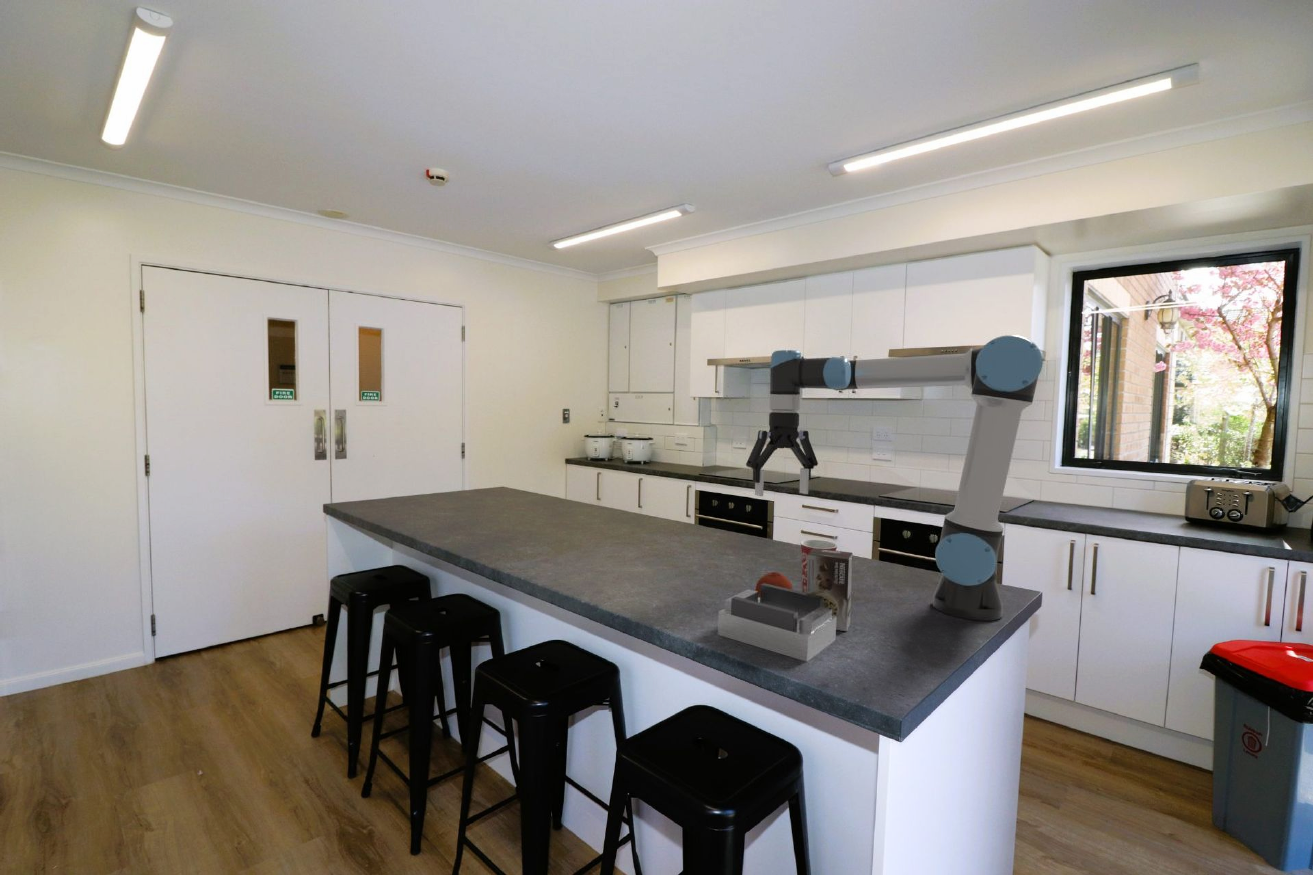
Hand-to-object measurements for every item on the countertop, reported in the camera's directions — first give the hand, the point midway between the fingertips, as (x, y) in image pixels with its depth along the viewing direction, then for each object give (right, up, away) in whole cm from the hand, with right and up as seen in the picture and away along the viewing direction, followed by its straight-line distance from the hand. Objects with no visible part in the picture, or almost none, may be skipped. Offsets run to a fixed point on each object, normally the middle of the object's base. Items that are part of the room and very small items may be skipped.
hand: (781, 494), depth 157 cm
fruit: (-4, -26, -9) cm, 28 cm away
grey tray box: (-7, -27, -29) cm, 40 cm away
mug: (+10, -26, +1) cm, 28 cm away
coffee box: (+6, -27, -20) cm, 35 cm away
